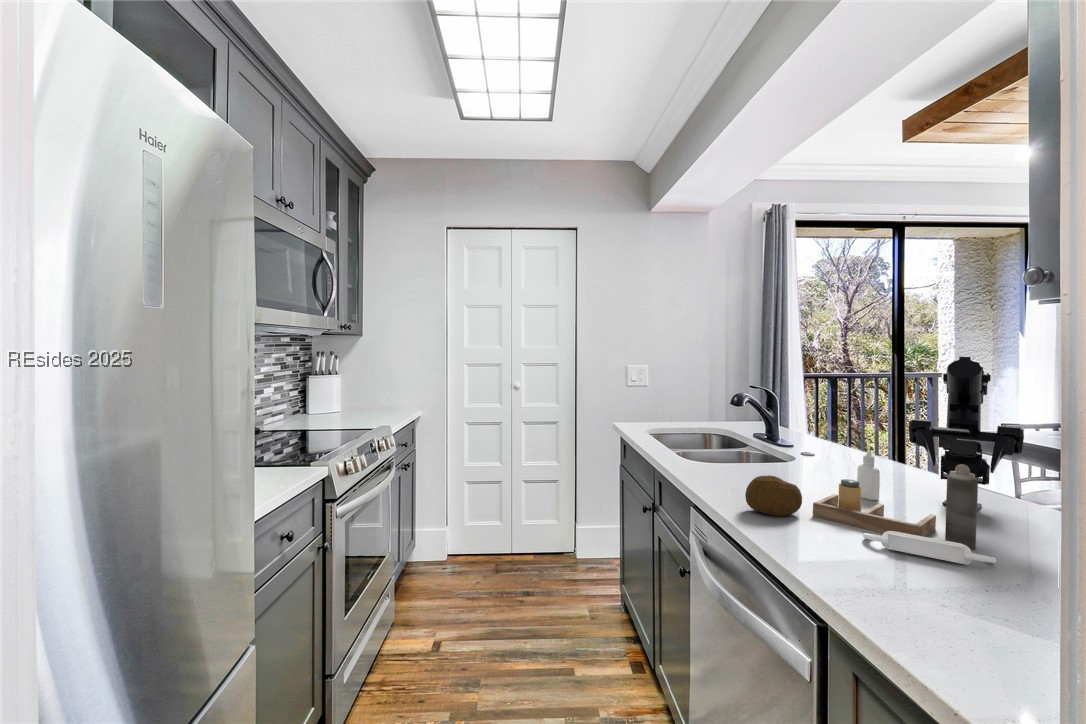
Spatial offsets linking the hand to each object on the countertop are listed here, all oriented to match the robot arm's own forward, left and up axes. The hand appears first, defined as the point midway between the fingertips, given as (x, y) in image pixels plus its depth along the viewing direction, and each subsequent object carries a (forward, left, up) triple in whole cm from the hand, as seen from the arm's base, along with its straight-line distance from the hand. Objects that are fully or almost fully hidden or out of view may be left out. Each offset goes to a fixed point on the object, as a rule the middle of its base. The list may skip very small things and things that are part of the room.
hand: (962, 468), depth 106 cm
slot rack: (+6, -14, -13) cm, 20 cm away
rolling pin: (+18, -2, -14) cm, 23 cm away
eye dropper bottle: (-14, -21, -14) cm, 29 cm away
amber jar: (+6, -19, -13) cm, 24 cm away
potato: (+18, -30, -14) cm, 38 cm away
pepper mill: (+8, +2, -13) cm, 16 cm away
